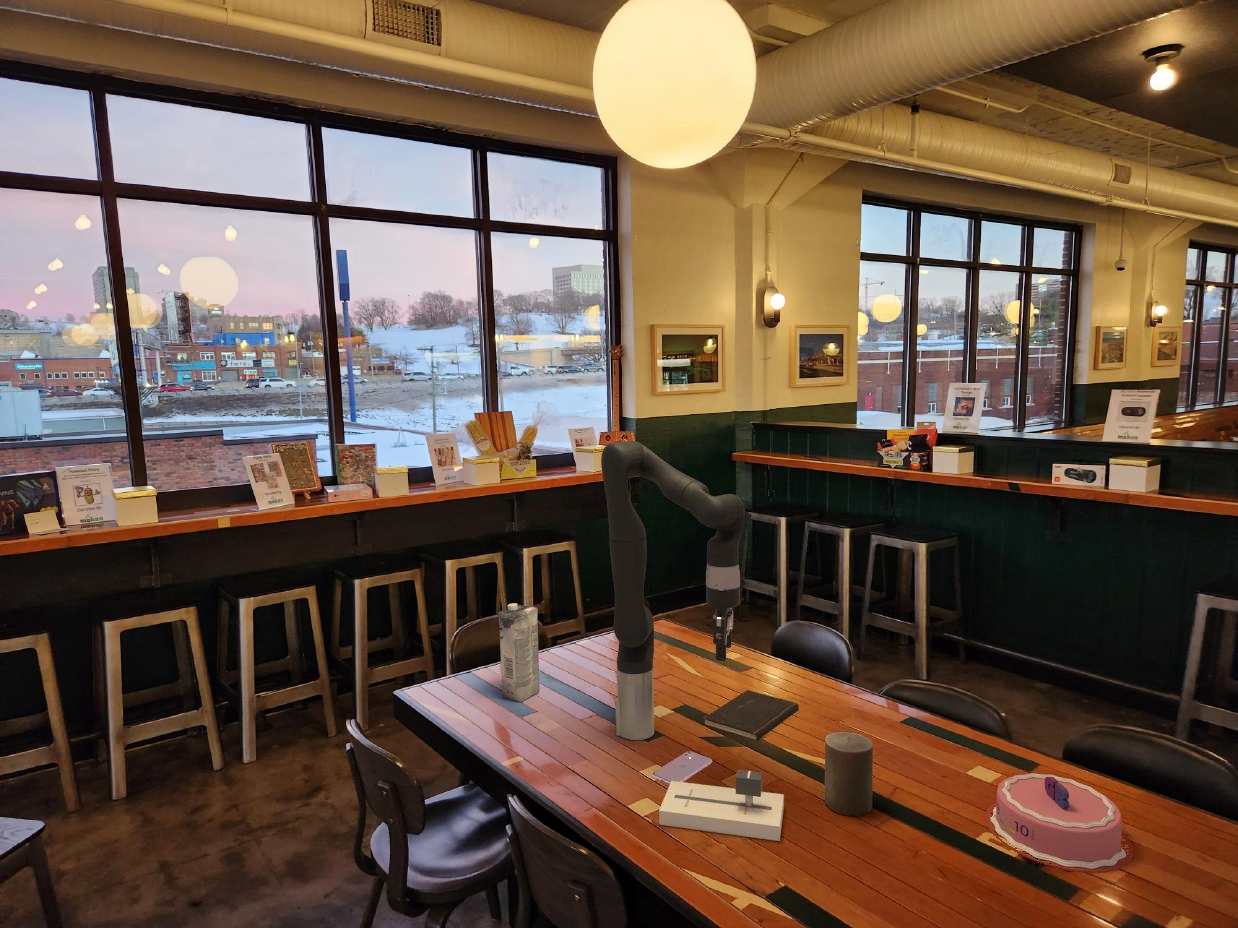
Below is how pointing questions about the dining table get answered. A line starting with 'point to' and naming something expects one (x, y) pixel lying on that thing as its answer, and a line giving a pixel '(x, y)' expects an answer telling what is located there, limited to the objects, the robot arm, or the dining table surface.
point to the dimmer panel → (722, 811)
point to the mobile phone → (682, 767)
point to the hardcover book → (751, 714)
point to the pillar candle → (848, 773)
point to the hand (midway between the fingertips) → (723, 653)
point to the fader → (749, 785)
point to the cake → (1060, 823)
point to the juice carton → (519, 652)
